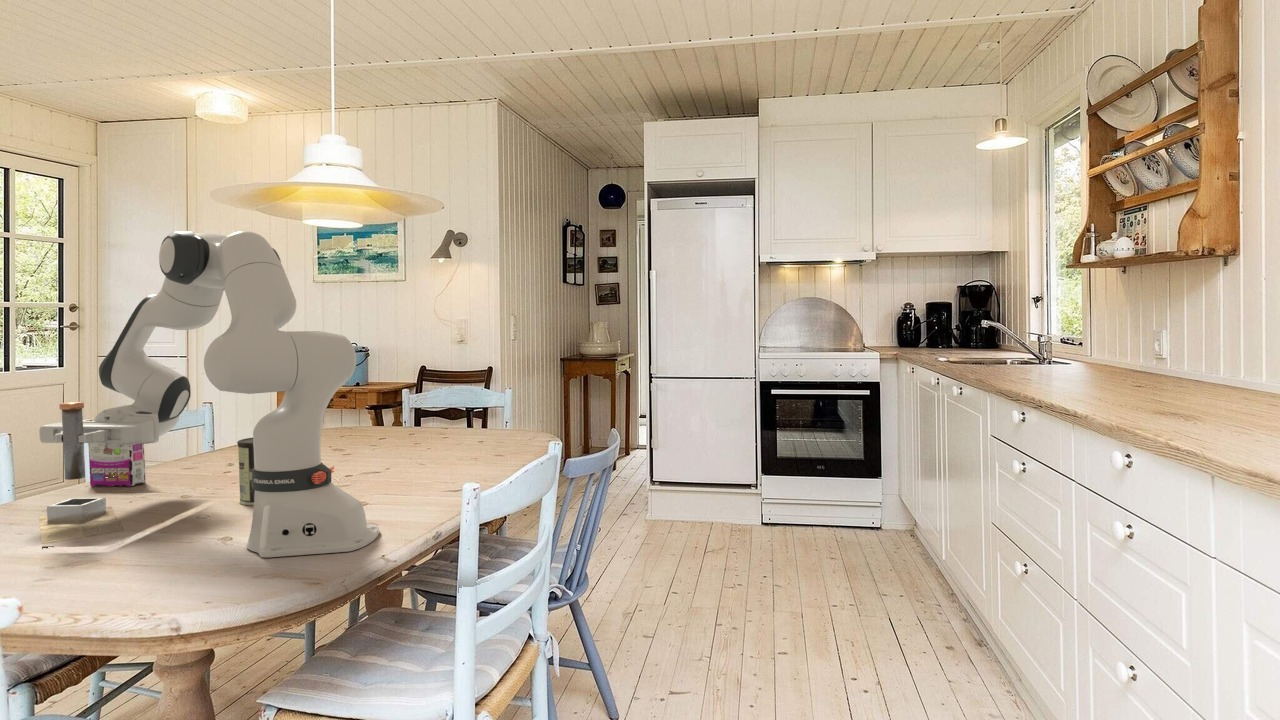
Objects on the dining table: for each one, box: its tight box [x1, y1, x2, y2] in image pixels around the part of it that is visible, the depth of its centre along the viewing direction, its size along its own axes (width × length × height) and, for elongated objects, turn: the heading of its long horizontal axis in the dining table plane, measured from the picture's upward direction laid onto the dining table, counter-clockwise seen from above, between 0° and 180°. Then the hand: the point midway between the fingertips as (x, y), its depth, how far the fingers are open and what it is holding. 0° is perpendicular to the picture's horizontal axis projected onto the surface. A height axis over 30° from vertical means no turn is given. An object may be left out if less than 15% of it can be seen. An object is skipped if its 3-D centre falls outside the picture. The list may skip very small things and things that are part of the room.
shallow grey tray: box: [46, 497, 107, 521], centre depth 146 cm, size 7×7×3 cm
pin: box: [58, 401, 86, 481], centre depth 141 cm, size 4×4×15 cm
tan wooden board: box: [38, 506, 124, 550], centre depth 141 cm, size 24×12×1 cm, turn 41°
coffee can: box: [237, 437, 254, 506], centre depth 163 cm, size 10×10×14 cm
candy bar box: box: [87, 443, 146, 488], centre depth 179 cm, size 11×5×16 cm, turn 87°
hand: (69, 438), depth 141 cm, fingers closed on pin, 3 cm apart
